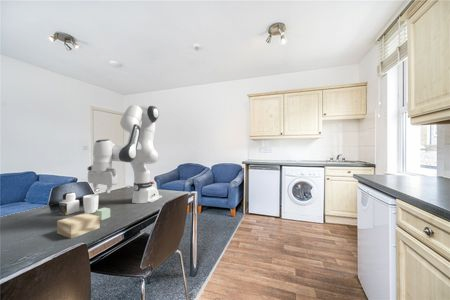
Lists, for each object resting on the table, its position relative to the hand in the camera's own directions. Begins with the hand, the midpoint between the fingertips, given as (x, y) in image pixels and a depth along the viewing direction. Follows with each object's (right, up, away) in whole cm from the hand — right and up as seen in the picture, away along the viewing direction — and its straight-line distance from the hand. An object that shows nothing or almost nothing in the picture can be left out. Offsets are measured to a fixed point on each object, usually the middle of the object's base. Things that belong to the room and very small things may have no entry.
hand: (102, 192), depth 104 cm
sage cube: (0, -15, +1) cm, 15 cm away
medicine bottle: (-27, -15, +9) cm, 32 cm away
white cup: (-14, -15, +11) cm, 23 cm away
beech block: (-1, -15, -15) cm, 22 cm away
